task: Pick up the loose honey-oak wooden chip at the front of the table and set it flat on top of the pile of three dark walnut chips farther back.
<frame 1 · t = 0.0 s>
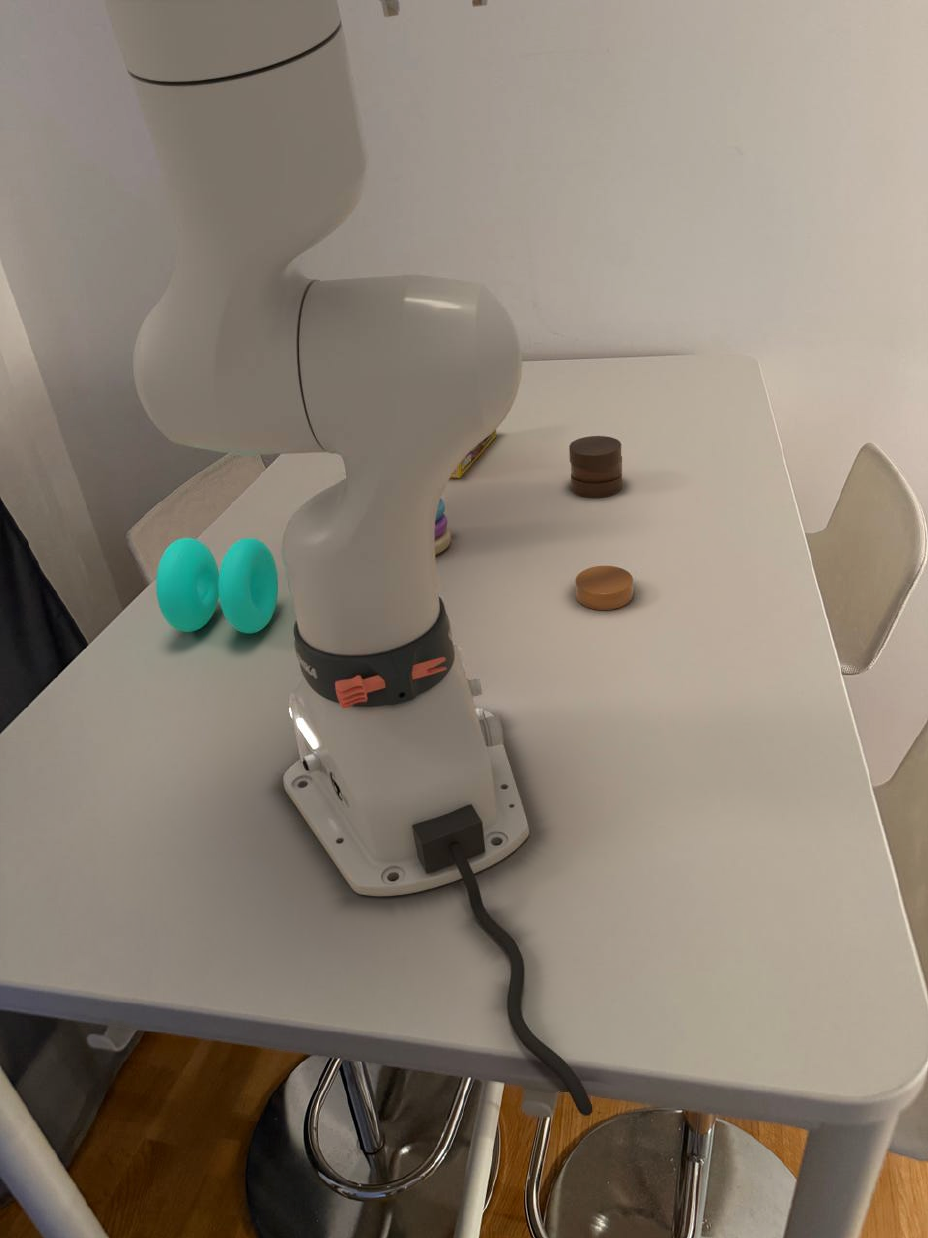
hand: (436, 8, 96), 54 cm above the table, tool tilted 30°, fingers open, 8 cm apart
stacking toy: (419, 547, 111), on the table
candy box: (474, 457, 134), on the table
donuts: (230, 626, 99), on the table
oak chip: (604, 595, 98), on the table
chip pile: (596, 487, 121), on the table
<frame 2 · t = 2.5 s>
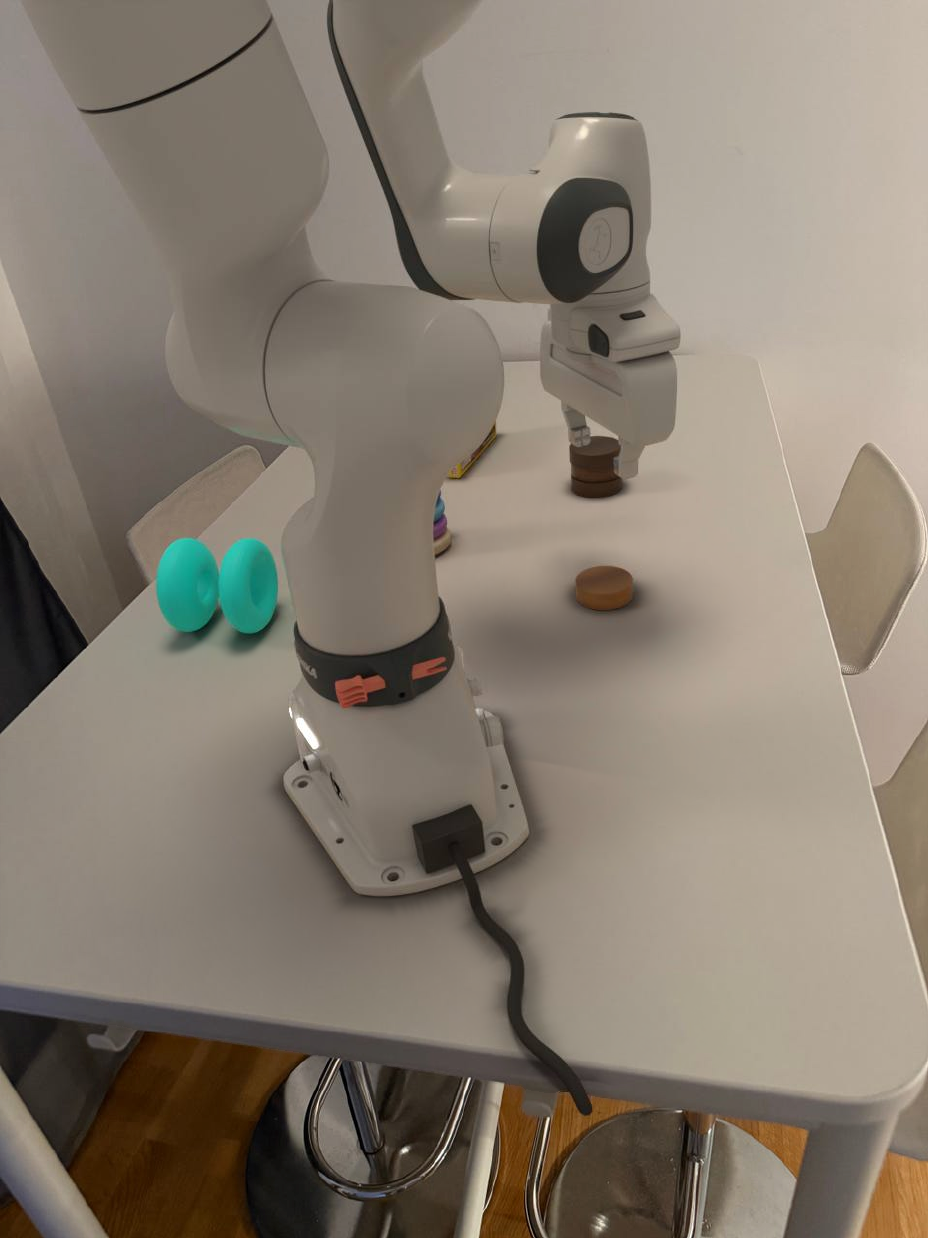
hand: (601, 459, 90), 15 cm above the table, tool pointing down, fingers open, 8 cm apart
nothing on the table moved.
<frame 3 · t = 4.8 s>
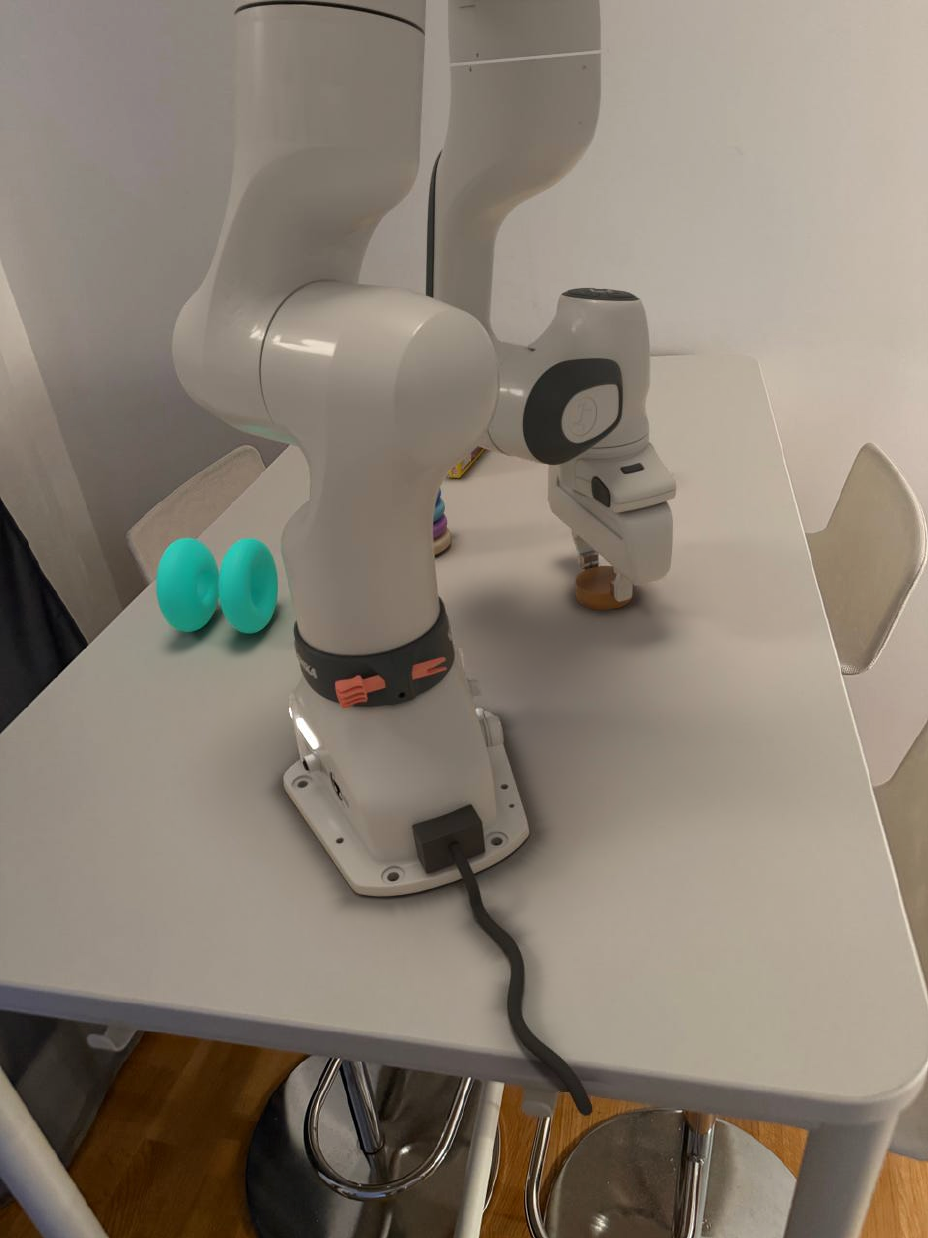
hand: (604, 582, 97), 2 cm above the table, tool pointing down, fingers closed on oak chip, 6 cm apart
oak chip: (604, 595, 98), on the table, touching gripper
everything else where it was.
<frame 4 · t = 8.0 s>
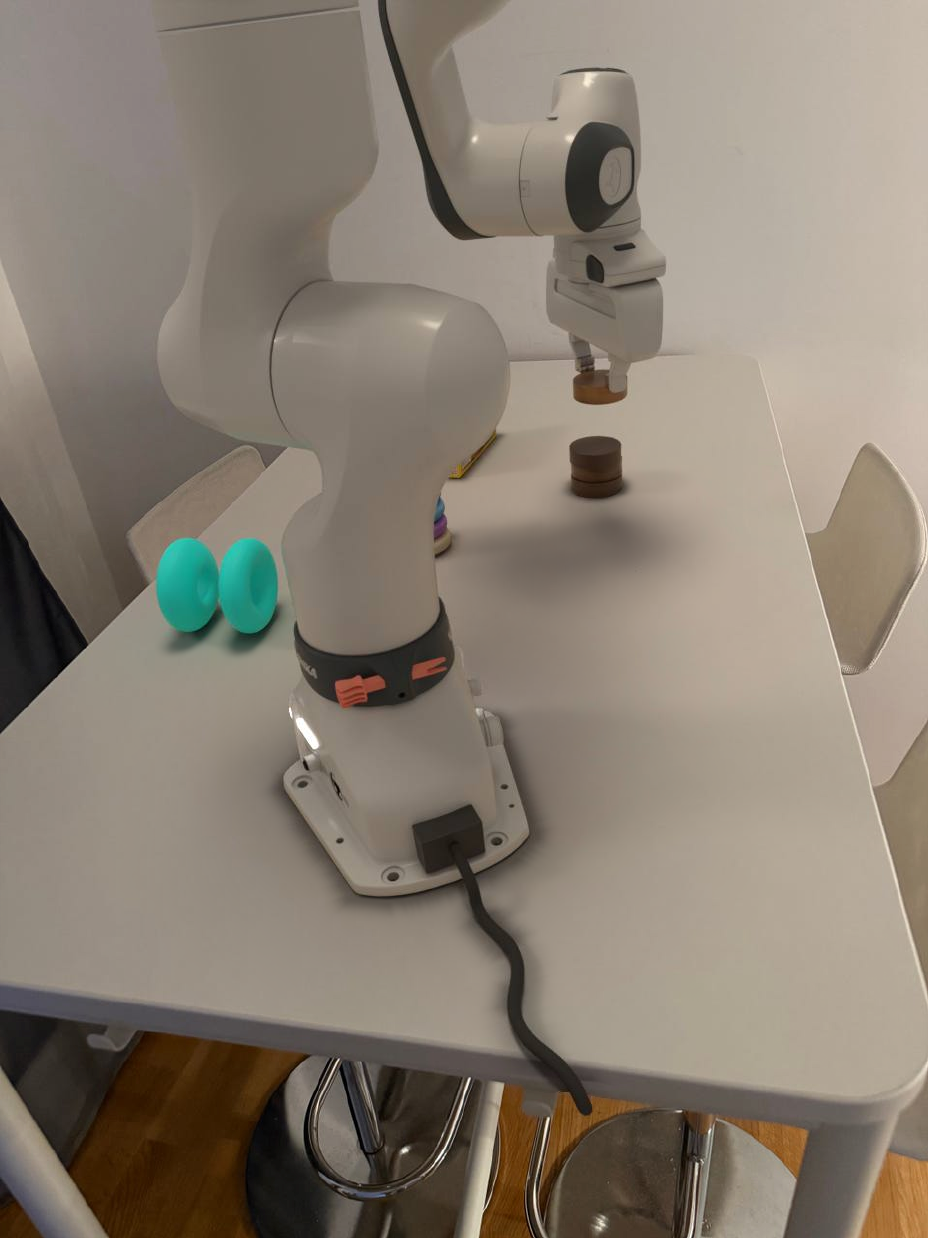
hand: (600, 381, 102), 18 cm above the table, tool pointing down, fingers closed on oak chip, 6 cm apart
oak chip: (600, 395, 103), point 16 cm above the table, touching gripper
everything else where it was.
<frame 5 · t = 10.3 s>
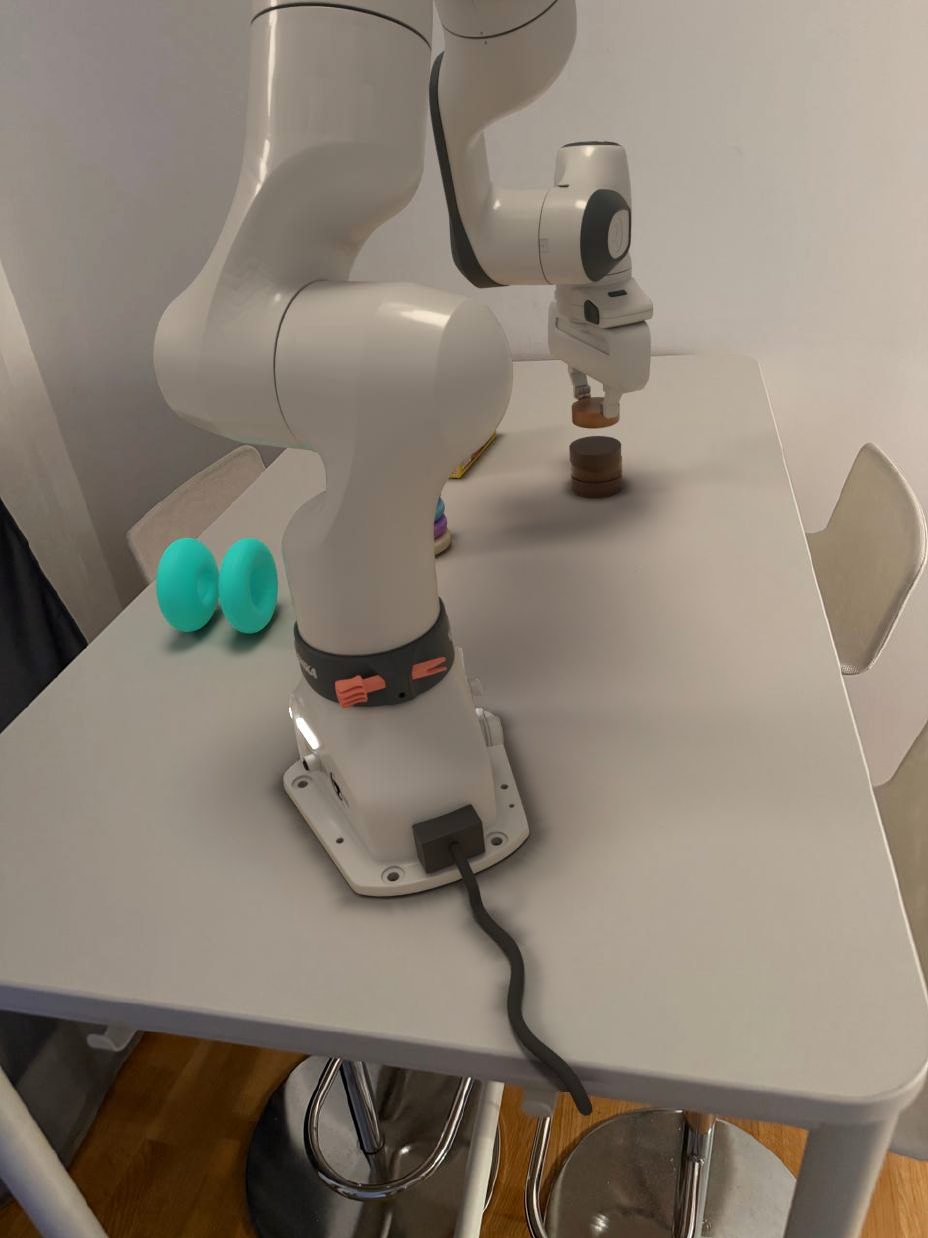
hand: (595, 407, 115), 11 cm above the table, tool pointing down, fingers closed on oak chip, 6 cm apart
oak chip: (595, 420, 116), point 9 cm above the table, touching gripper
everything else where it was.
when the fingers open (8 cm above the table, at t = 11.7 s): oak chip stays where it is, resting on chip pile.
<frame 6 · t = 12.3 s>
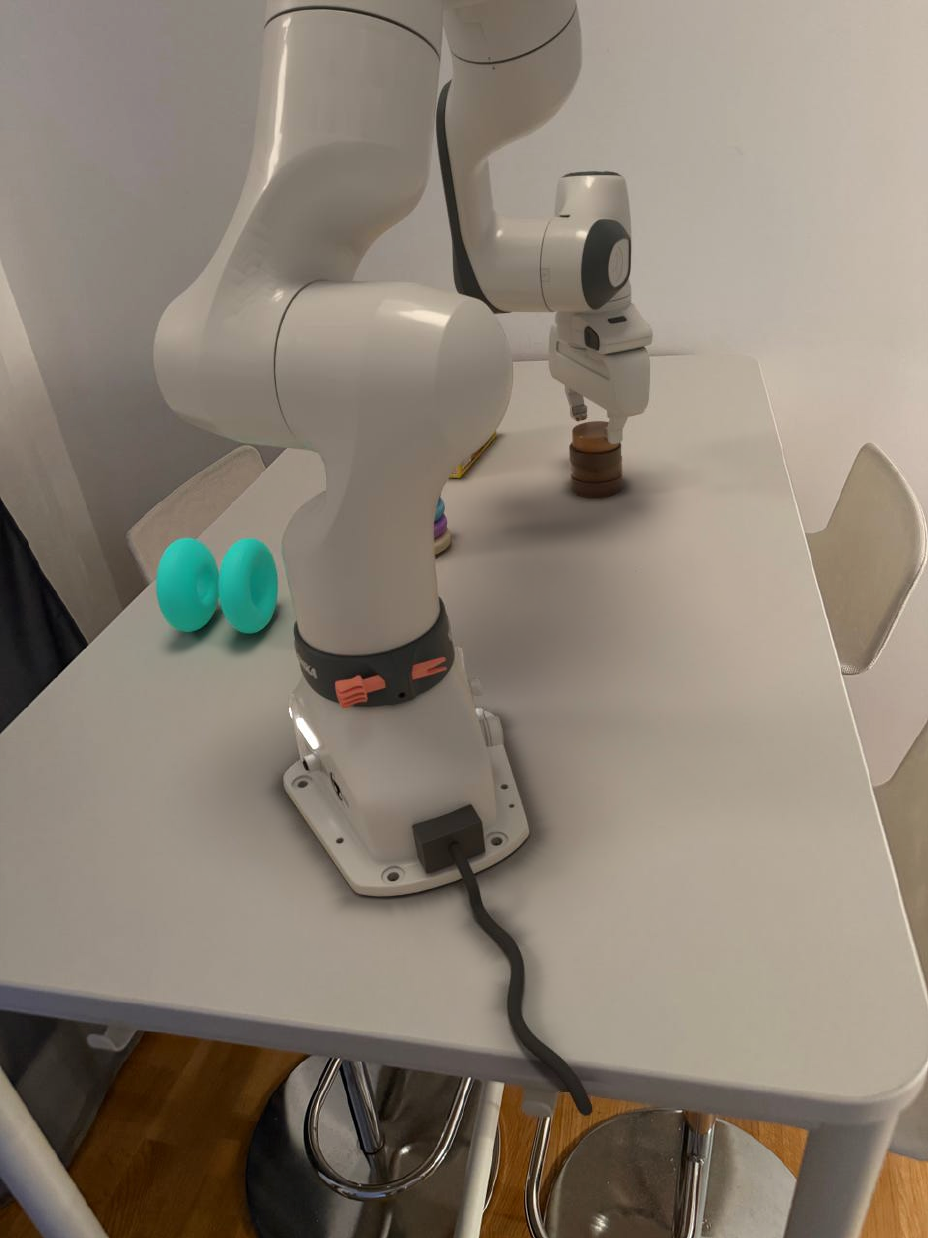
hand: (595, 430, 117), 8 cm above the table, tool pointing down, fingers open, 8 cm apart
oak chip: (596, 444, 118), point 6 cm above the table, touching chip pile
everything else where it was.
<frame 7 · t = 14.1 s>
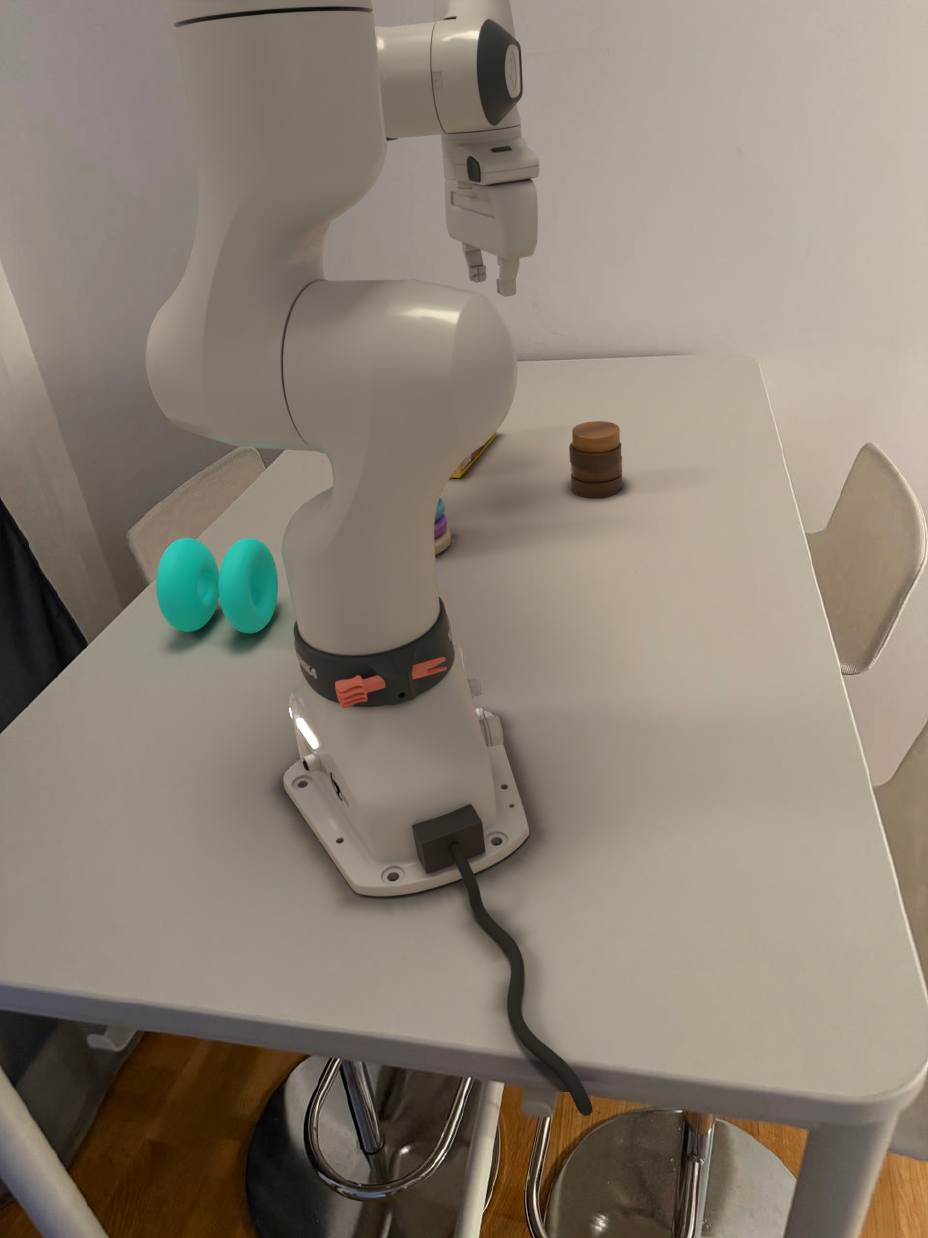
hand: (491, 287, 109), 26 cm above the table, tool pointing down, fingers open, 8 cm apart
nothing on the table moved.
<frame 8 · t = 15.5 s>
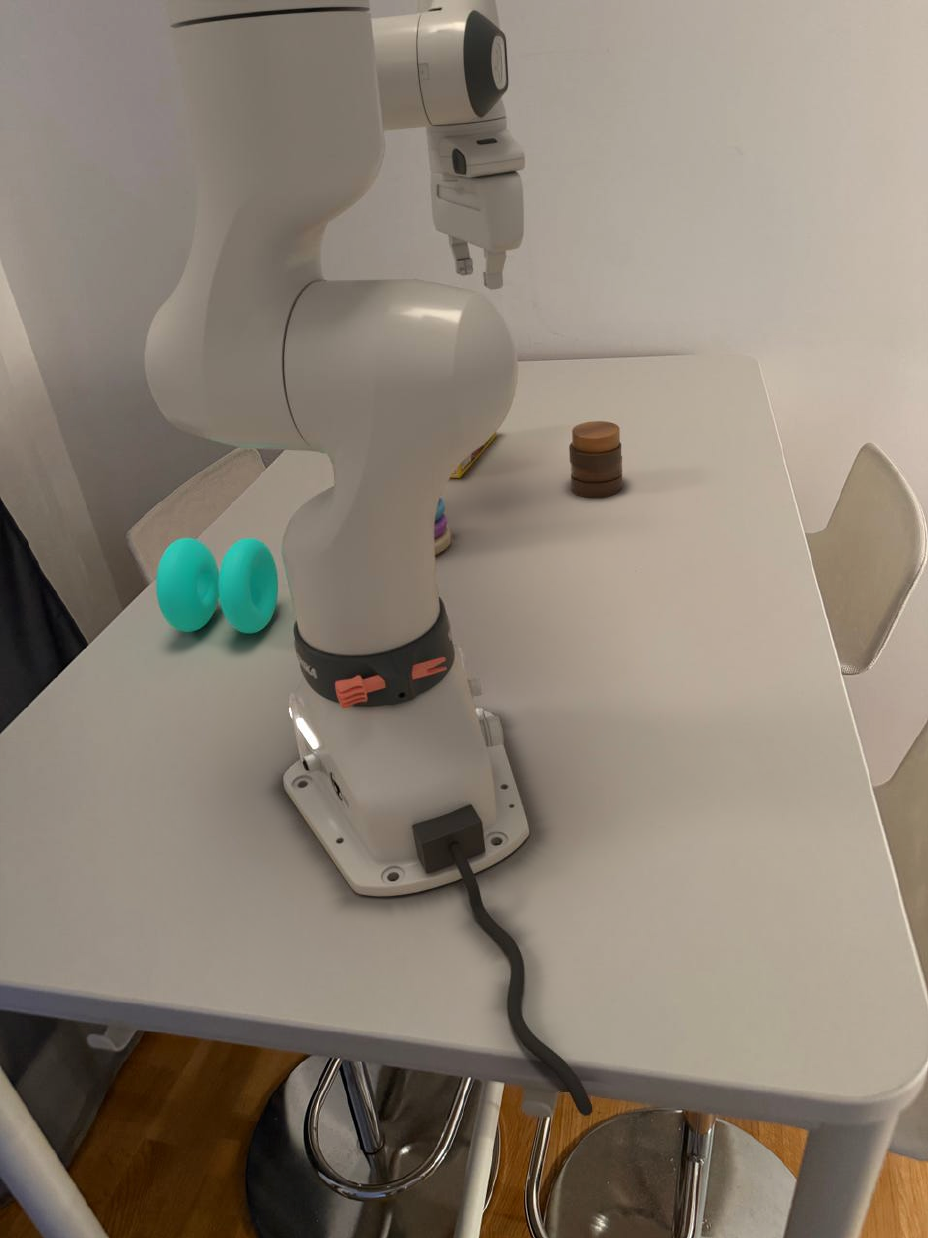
hand: (478, 280, 108), 27 cm above the table, tool pointing down, fingers open, 8 cm apart
nothing on the table moved.
at the end: oak chip 0.1 cm off-centre on the chip pile, point 6.0 cm above the chip pile's base; oak chip tilted 0°; the gripper is holding nothing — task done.
